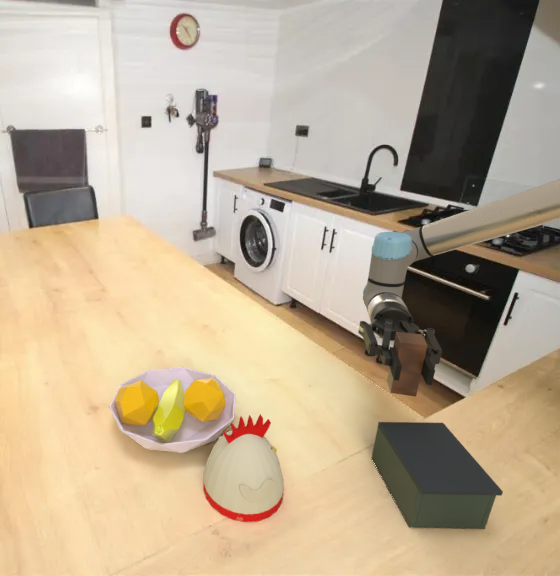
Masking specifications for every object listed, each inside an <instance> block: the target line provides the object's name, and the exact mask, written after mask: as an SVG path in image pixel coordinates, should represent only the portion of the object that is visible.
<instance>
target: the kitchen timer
mask: <svg viewBox="0 0 560 576" xmlns="http://www.w3.org/2000/svg"><path fill="white" fill-rule="evenodd" d="M271 423H272V422H271V420H270V419H269V418H268V419H267V420H266V421H264V417H263V416H262V414H259V415H258V417H257V420H256V422H255V424H254V421H253V418H252V417H251V415H250V414H249V415H248V419H247V422H246V424H245V420H244V418H243V417H242V415H241V416H240V417H239V420H238V425H237V427H236V426H235V425H234V423H232V422H231V423H230V427H231V430H229V431H227V432H226V431H225V430H222V431H223V432H222V434H223V435H220V436H219V437H218V438H217V441H216V442H215V444H213V447H212V449H211V451H210V454H209V456H208V458H207V461H206V462H205V463H206V464H205V466H204V469H203V492H204V495H205V499H206V500H207V501H208V503H209V505H211V507H212V508H213V510H215V511H216V512H218V513H219V514H220V515H222V516H224V517H227V518H228V519H231V520H233V521H239V522H242V523H243V522H244V523H251V522H259V521H262V520H266V519H269V518H270V517H271V516H273V514H275V513H277V512H278V510H279V508H280V507H281V505H282V503H283V498H284V497H283V496H284V491H285V490H284V489H285V483H284V476H283V471H282V467H281V464H280V461H279V457H278V455H277V452H278V449H277V448H276V447H275V446H273V445H272V444H271V442H270V441H269V440H268V439H267V437H265V435H266V433H267V432H268V431H269V429H270V426H271Z"/></svg>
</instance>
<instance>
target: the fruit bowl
mask: <svg viewBox="0 0 560 576" xmlns="http://www.w3.org/2000/svg"><path fill="white" fill-rule="evenodd" d="M108 408H109V410H110V412H111V414H112V416H113V418H114V421H115V422H116V424H117V427H118V428H119V431H120V432H122V433H124V435H126V436H127V437H129V438H130V439H131V440H133V441H134V442H136V443H137V444H139V446H141V447H142V448H144V449H145V450H152V451H161V452H172V453H179V454H184V453H187V452H189V451H192V450H194V449H197V448H199V447H202V446H206V445H208V444H210V443H213V442H215V441H216V440H218V438H219V437H220V436H221V435H222V434H223V431H222V430H224V431H225V430H226V429H227V428H228V427H229V426H230V425H231V423H232V422H233V421H234V420H235V411H236V393H235V392H234V391H233V390H232V389H231V388H230V387H229V386H228V385H227V384H225V383H224V382H223V381H222V380H221V379H220V378H219V377H217V375H216V374H211V373H209V372H204V371H200V370H197V369H193V368H189V367H186V366H185V367H184V366H180V367H179V366H178V367H169V368H157V369H156V368H155V369H148V370H146V371H143V372H142V373H140V374H138V375H136V376H135V377H132V378H129V379H128V380H126V381H125V382H124V381H123V383H120V385H119V387H118V388H117V390H116V393H115V394H114V397H113V398H112V400H111V402H110V405H109V406H108Z"/></svg>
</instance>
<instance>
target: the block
mask: <svg viewBox="0 0 560 576" xmlns="http://www.w3.org/2000/svg"><path fill="white" fill-rule="evenodd" d="M392 347H394V348H395V350H396V353H397V355H398V358H399V360H400V363H401V365H402V368H401V373H400V378H399V381H397V380H394V379H393V376H392V373H391V370H390V367H389V366H388V371H387V378H386V382H387V386H388V389H389V392H390V394H395V395H402V396H403V395H404V396H409V397H417V395H418V390H419V385H420V380H421V376H422V374H421V372H422V368H423V363H424V359H425V354H426V350H427V343H426V341H425V340H424V338H423V336H422V334H413V333H404V332H396V335H395V340H394V341H393V345H392Z"/></svg>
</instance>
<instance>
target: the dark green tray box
mask: <svg viewBox="0 0 560 576" xmlns="http://www.w3.org/2000/svg"><path fill="white" fill-rule="evenodd" d="M371 458H372V459H371V461H372V460H373V461H372V463H373V462H374V463H375V465H376V466H375V465H374V466H375V468H376V467H377V468H376V470H377V469H378V470H377V472H378V471H379V472H378V474H379V473H380V474H381V476H382V477H381V476H380V477H381V479H382V478H383V479H382V481H383V480H384V481H383V483H384V482H385V483H384V485H385V484H386V485H387V486H386V485H385V486H386V488H387V487H388V488H387V490H388V489H389V490H388V492H389V491H390V492H391V494H392V495H391V494H390V495H391V497H392V496H393V497H392V499H393V498H394V499H393V501H394V500H395V501H394V502H396V503H397V504H396V503H395V504H396V506H397V505H398V506H397V508H398V507H399V508H398V510H399V509H400V510H399V512H400V511H401V512H400V513H401V515H402V517H403V516H404V517H403V519H404V518H405V519H404V521H405V520H406V521H405V523H406V525H407V526H408V528H411V527H412V528H415V529H416V528H417V529H457V530H458V529H460V530H462V529H463V530H486V527H487V524H488V521H489V518H490V515H491V512H492V510H493V508H494V507H493V506H494V503H495V501H496V497H497V495H446V494H421V492H420V491H419V489H418V488H417V486H416V484H415V483H414V481H413V480H412V478H411V477H410V475H409V474H408V472H407V470H406V469H405V467H404V466H403V464H402V463H401V461H400V459H399V458H398V456H397V455H396V453H395V452H394V450H393V448H392V447H391V445H390V444H389V442H388V441H387V439H386V437H385V436H384V434H383V433H382V431H381V430H380V428H379V426H378V425H377V427H376V431H375V438H374V443H373V448H372V454H371ZM374 463H373V464H374ZM380 474H379V475H380ZM390 492H389V493H390Z"/></svg>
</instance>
